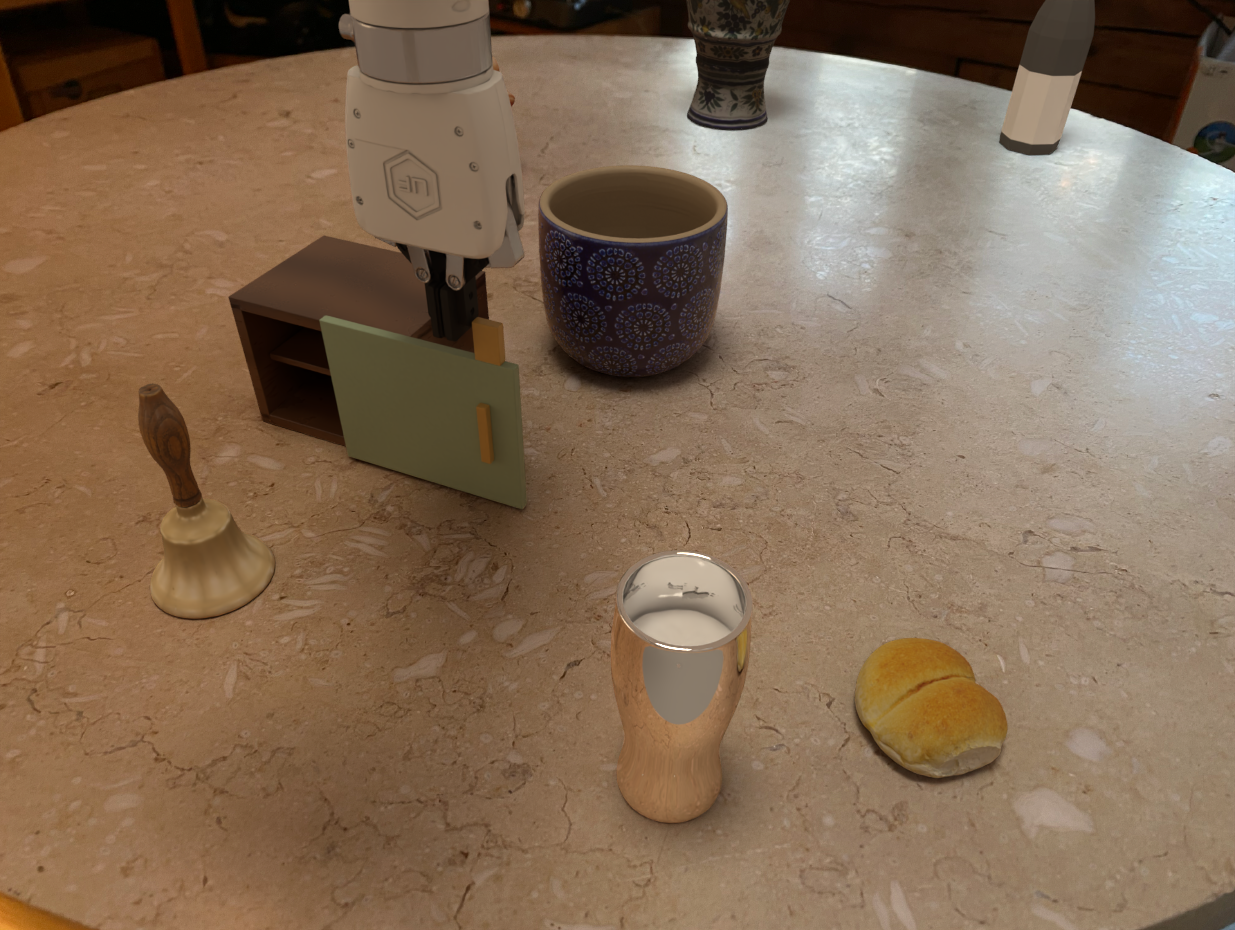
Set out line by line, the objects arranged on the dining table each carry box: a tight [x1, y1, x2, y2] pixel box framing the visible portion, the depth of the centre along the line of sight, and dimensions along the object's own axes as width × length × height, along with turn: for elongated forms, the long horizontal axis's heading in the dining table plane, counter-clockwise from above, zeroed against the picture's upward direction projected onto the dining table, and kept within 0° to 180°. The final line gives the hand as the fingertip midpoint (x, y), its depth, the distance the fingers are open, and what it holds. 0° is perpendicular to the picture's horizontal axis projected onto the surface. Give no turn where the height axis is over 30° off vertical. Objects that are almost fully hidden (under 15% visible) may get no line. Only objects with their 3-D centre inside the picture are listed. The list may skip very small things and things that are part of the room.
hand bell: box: [137, 383, 276, 620], centre depth 61 cm, size 8×8×16 cm
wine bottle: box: [998, 0, 1096, 156], centre depth 125 cm, size 8×8×30 cm
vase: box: [685, 0, 791, 131], centre depth 133 cm, size 17×17×30 cm
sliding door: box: [319, 315, 528, 510], centre depth 69 cm, size 1×16×16 cm, turn 67°
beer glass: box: [609, 549, 754, 824], centre depth 49 cm, size 7×7×15 cm
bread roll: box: [854, 637, 1009, 779], centre depth 56 cm, size 8×9×4 cm
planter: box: [537, 164, 729, 378], centre depth 86 cm, size 17×16×15 cm
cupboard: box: [227, 235, 490, 447], centre depth 78 cm, size 12×16×12 cm
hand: (455, 329), depth 64 cm, fingers closed
